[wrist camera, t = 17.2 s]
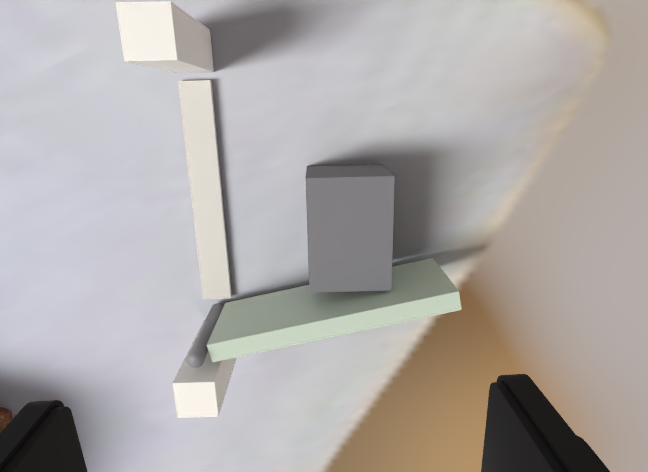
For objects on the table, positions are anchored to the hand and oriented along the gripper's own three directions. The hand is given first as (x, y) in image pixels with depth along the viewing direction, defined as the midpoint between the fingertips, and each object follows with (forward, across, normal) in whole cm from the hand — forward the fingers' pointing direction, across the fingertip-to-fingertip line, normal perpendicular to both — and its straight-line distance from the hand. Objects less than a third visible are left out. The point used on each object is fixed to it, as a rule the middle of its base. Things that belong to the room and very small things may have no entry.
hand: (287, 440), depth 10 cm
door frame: (+21, +6, -1) cm, 22 cm away
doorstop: (+21, -3, +1) cm, 21 cm away
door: (+20, -1, +6) cm, 21 cm away
